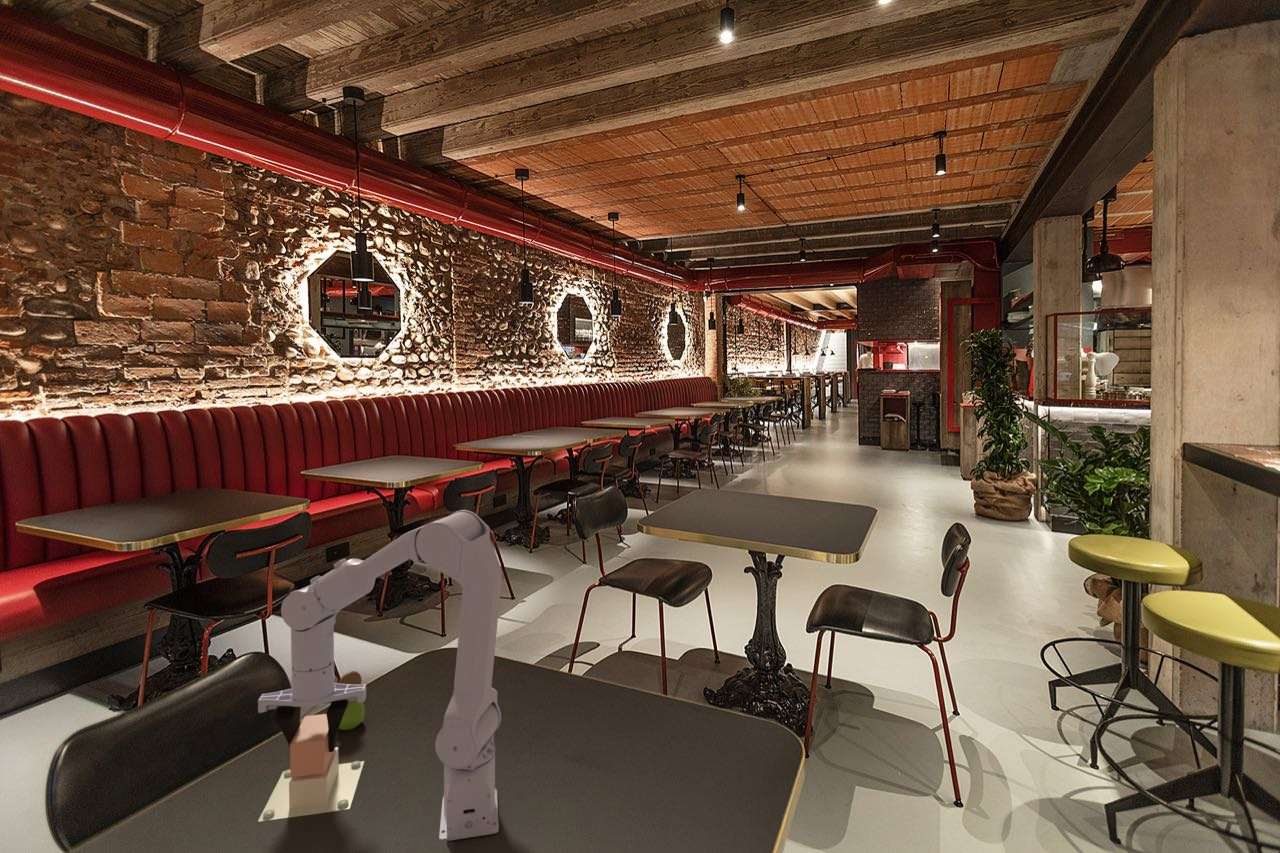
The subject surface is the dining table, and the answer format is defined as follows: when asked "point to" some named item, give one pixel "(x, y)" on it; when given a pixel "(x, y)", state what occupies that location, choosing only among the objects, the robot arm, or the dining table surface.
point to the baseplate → (336, 802)
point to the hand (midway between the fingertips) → (314, 750)
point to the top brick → (310, 747)
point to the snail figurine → (351, 703)
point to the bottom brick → (314, 786)
